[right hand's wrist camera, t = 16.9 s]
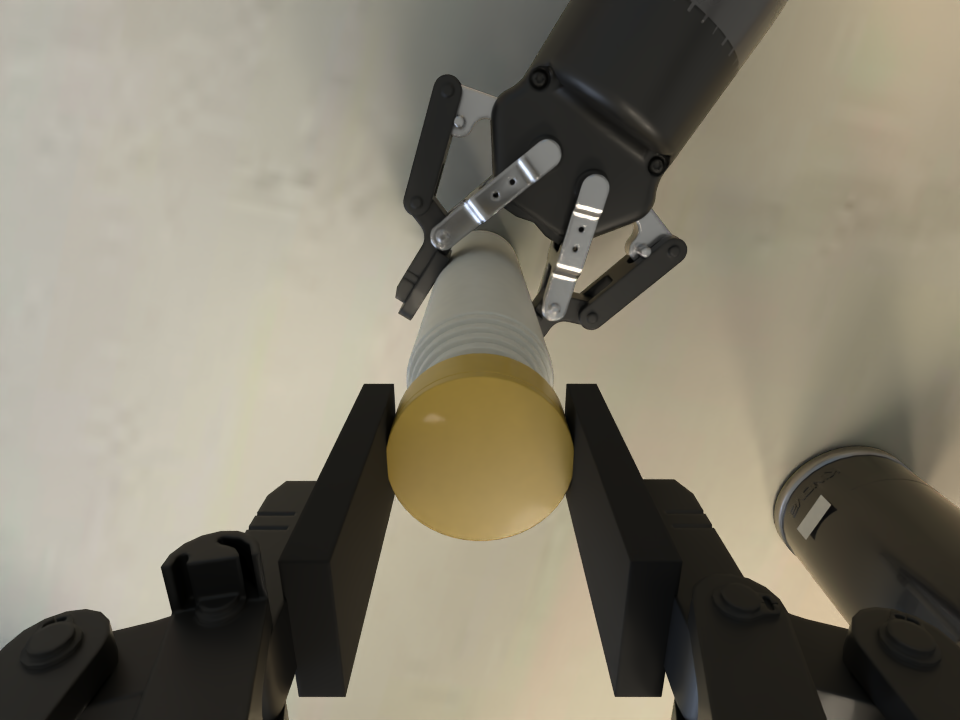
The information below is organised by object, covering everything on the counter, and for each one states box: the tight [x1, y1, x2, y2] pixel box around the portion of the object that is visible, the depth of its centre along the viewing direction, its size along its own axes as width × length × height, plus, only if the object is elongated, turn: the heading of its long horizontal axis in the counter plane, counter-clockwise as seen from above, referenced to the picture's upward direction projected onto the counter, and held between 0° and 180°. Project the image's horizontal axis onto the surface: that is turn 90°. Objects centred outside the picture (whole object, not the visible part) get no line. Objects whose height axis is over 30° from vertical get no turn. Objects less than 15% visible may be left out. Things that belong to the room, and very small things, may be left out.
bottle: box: [407, 230, 554, 389], centre depth 24 cm, size 5×5×22 cm
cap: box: [386, 353, 574, 541], centre depth 14 cm, size 4×4×2 cm
